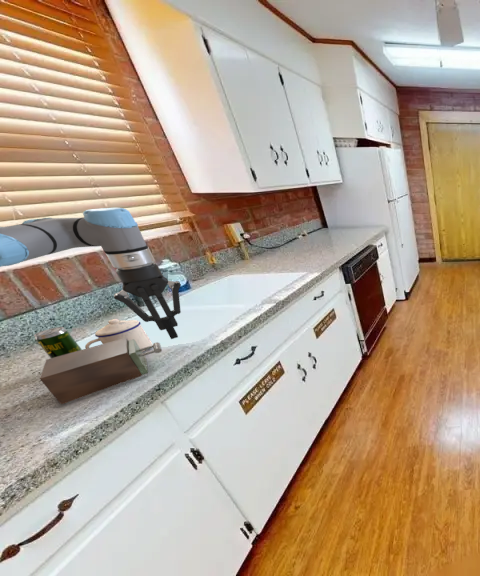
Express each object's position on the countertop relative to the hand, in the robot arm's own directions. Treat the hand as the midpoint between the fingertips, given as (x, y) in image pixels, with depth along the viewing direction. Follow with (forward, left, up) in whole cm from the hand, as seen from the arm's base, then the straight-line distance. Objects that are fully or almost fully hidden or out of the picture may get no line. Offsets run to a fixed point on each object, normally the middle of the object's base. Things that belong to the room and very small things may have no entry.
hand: (174, 336), depth 91 cm
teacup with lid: (-16, -12, -7) cm, 21 cm away
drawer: (0, -12, -6) cm, 13 cm away
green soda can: (-19, -22, -7) cm, 30 cm away
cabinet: (0, -16, -7) cm, 17 cm away
